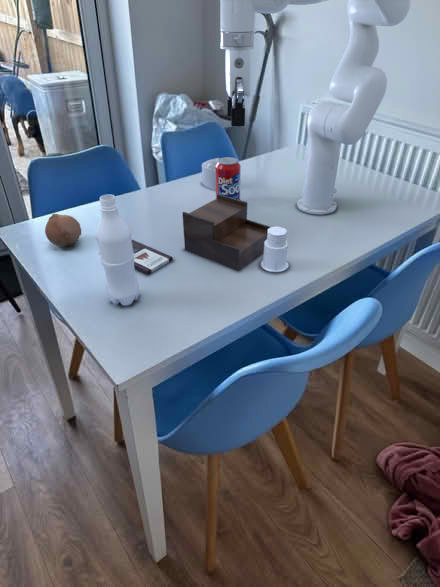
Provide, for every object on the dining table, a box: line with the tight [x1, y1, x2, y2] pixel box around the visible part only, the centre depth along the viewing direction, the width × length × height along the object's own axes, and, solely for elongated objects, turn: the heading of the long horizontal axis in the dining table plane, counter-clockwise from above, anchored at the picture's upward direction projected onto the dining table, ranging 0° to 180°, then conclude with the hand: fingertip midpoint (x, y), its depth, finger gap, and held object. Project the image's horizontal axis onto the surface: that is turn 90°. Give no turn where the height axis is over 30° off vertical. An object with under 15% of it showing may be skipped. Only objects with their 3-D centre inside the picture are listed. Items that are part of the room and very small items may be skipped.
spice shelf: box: [181, 194, 272, 272], centre depth 113 cm, size 15×18×11 cm
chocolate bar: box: [132, 239, 173, 276], centre depth 113 cm, size 9×1×18 cm
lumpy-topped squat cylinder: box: [201, 157, 221, 191], centre depth 152 cm, size 10×13×9 cm
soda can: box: [215, 156, 242, 200], centre depth 135 cm, size 8×8×15 cm
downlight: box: [260, 226, 289, 273], centre depth 106 cm, size 8×7×10 cm
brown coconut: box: [44, 213, 82, 248], centre depth 117 cm, size 10×9×10 cm
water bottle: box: [95, 193, 140, 307], centre depth 91 cm, size 7×7×25 cm
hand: (235, 120), depth 105 cm, fingers open, 9 cm apart
